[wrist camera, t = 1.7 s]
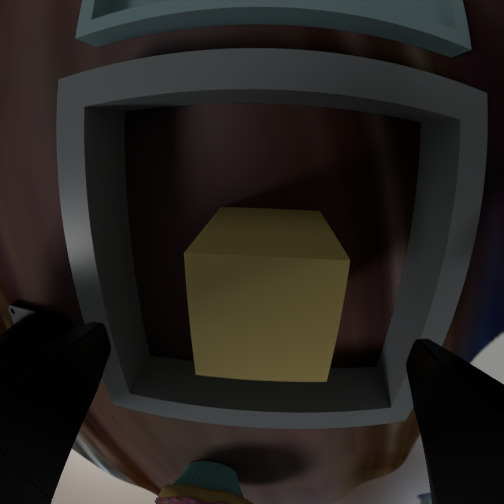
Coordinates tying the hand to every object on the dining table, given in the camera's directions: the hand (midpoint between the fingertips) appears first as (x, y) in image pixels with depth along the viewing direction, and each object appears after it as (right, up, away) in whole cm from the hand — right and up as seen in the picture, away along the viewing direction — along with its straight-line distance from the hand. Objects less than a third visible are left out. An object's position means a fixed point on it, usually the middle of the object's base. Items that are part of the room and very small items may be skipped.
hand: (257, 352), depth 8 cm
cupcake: (-4, -18, +15) cm, 23 cm away
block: (+1, +3, +7) cm, 7 cm away
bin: (+1, +3, +7) cm, 7 cm away
